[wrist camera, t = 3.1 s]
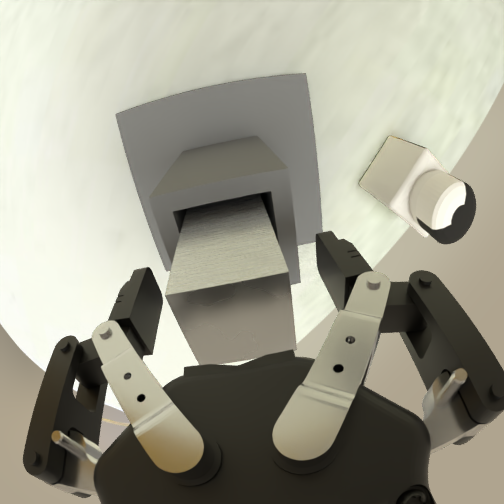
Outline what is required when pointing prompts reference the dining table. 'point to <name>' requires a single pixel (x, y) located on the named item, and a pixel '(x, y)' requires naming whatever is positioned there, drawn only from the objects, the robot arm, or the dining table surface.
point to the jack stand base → (228, 158)
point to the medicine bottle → (420, 190)
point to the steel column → (231, 283)
